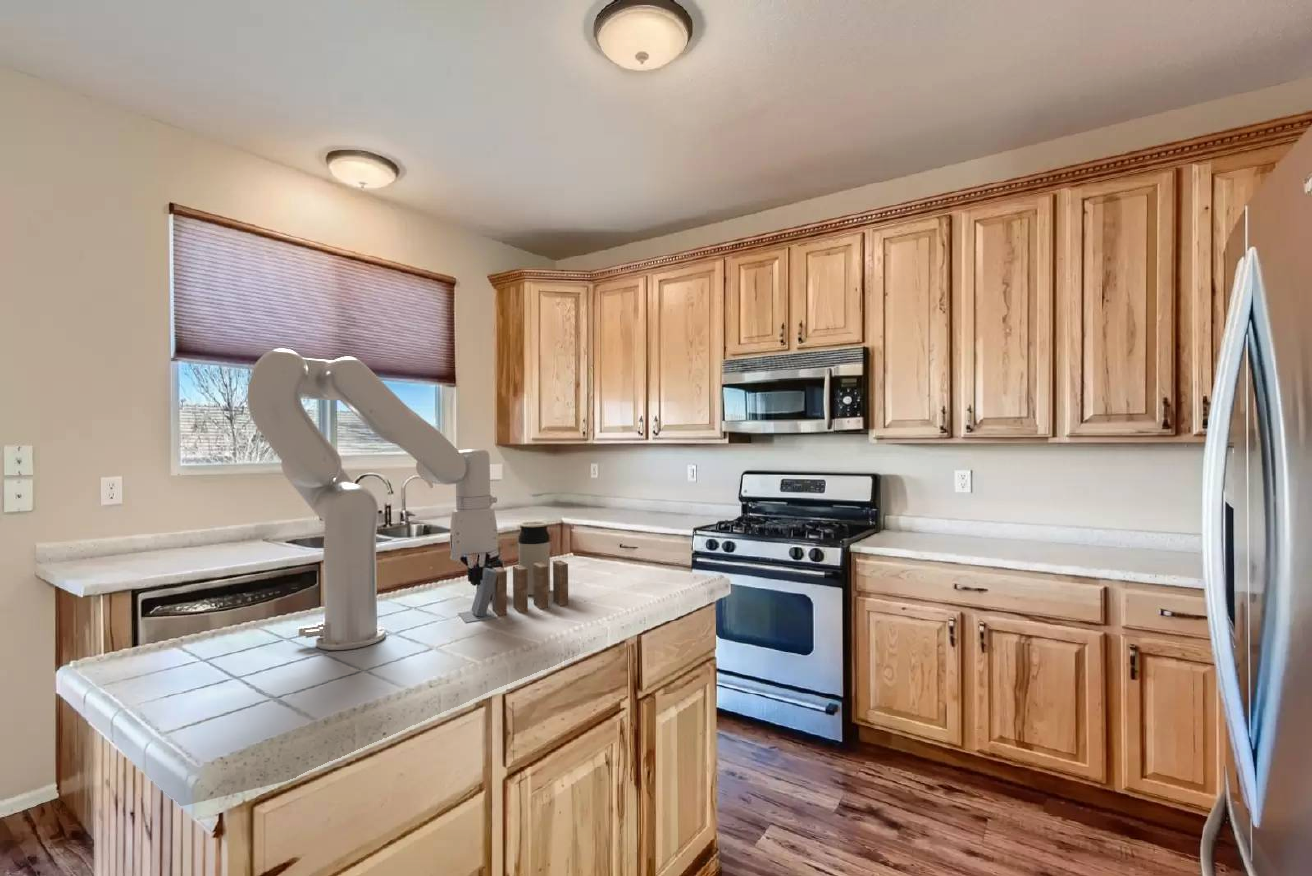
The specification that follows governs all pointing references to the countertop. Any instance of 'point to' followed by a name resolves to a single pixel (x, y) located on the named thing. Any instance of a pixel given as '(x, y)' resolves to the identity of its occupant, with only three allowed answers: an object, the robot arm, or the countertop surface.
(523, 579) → the domino
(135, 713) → the countertop surface
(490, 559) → the supplement bottle
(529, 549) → the travel mug
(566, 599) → the domino
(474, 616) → the pad
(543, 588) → the domino
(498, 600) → the domino
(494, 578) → the domino
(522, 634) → the countertop surface
